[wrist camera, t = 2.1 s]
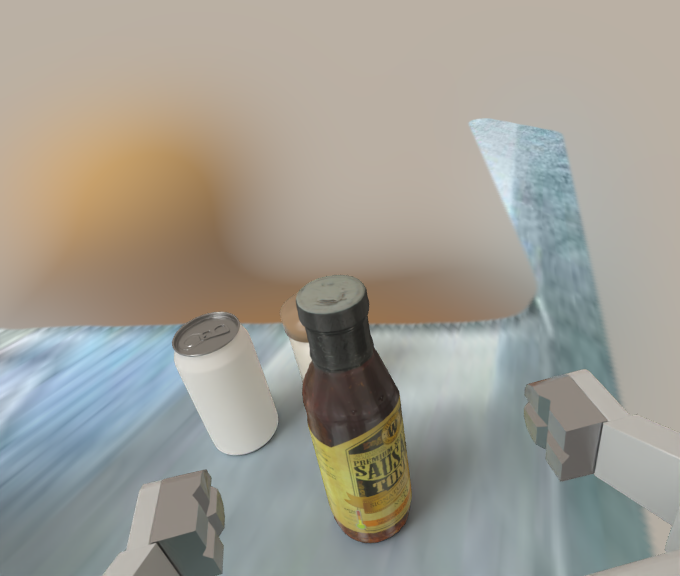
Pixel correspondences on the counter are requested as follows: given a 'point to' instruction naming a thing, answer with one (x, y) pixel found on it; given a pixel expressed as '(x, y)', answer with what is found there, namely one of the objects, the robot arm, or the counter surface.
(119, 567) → the robot arm
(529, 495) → the counter surface
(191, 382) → the can
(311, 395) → the sauce bottle
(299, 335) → the spice jar
